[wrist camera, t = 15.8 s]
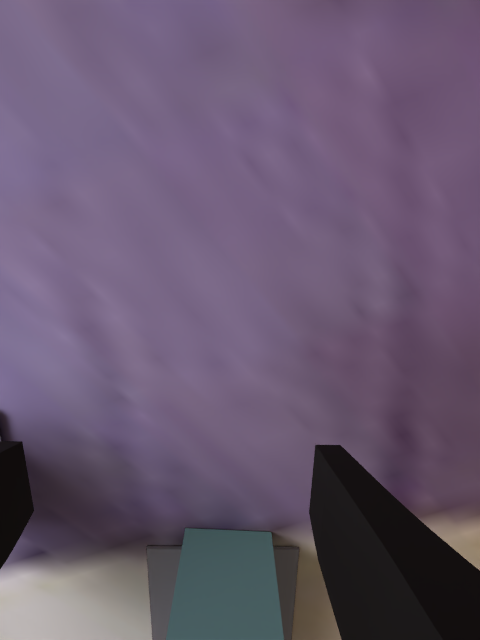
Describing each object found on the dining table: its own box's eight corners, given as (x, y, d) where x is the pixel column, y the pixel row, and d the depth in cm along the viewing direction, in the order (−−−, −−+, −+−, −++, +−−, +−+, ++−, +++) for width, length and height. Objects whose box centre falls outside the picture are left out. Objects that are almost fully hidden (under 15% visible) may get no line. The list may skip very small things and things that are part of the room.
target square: (154, 652, 23) (153, 656, 23) (147, 545, 21) (146, 548, 21) (289, 652, 24) (289, 656, 23) (298, 546, 21) (299, 549, 21)
